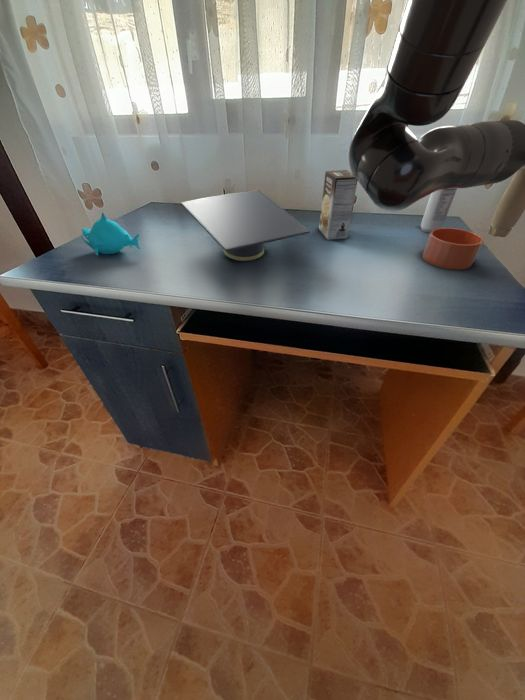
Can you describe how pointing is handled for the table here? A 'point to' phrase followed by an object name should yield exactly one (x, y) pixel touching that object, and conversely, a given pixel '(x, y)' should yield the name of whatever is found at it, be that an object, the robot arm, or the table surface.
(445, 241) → the holder
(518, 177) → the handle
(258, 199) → the graduation cap
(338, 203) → the coffee box
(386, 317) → the table surface
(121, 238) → the toy shark
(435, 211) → the energy drink can
